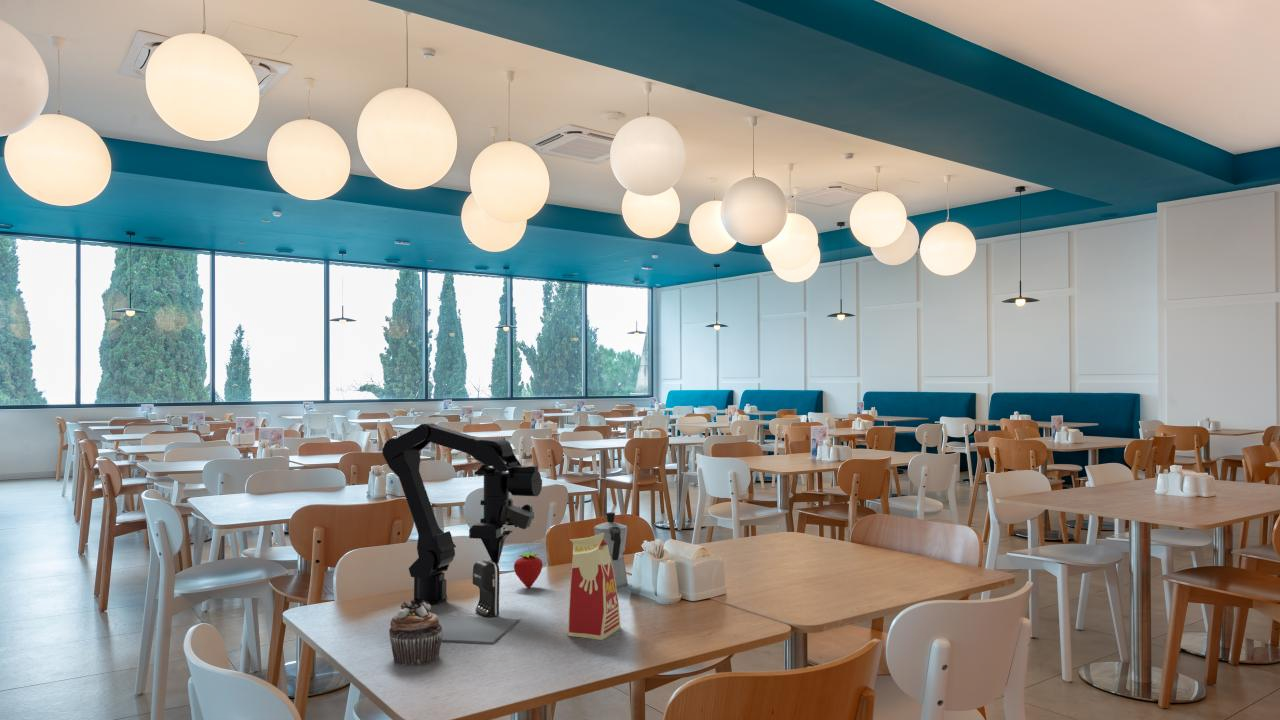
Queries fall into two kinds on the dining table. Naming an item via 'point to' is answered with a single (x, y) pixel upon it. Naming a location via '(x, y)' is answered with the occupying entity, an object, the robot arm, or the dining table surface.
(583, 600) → the milk carton
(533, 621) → the dining table surface
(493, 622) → the mat
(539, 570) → the strawberry
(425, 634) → the cupcake
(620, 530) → the coffee maker
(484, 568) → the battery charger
